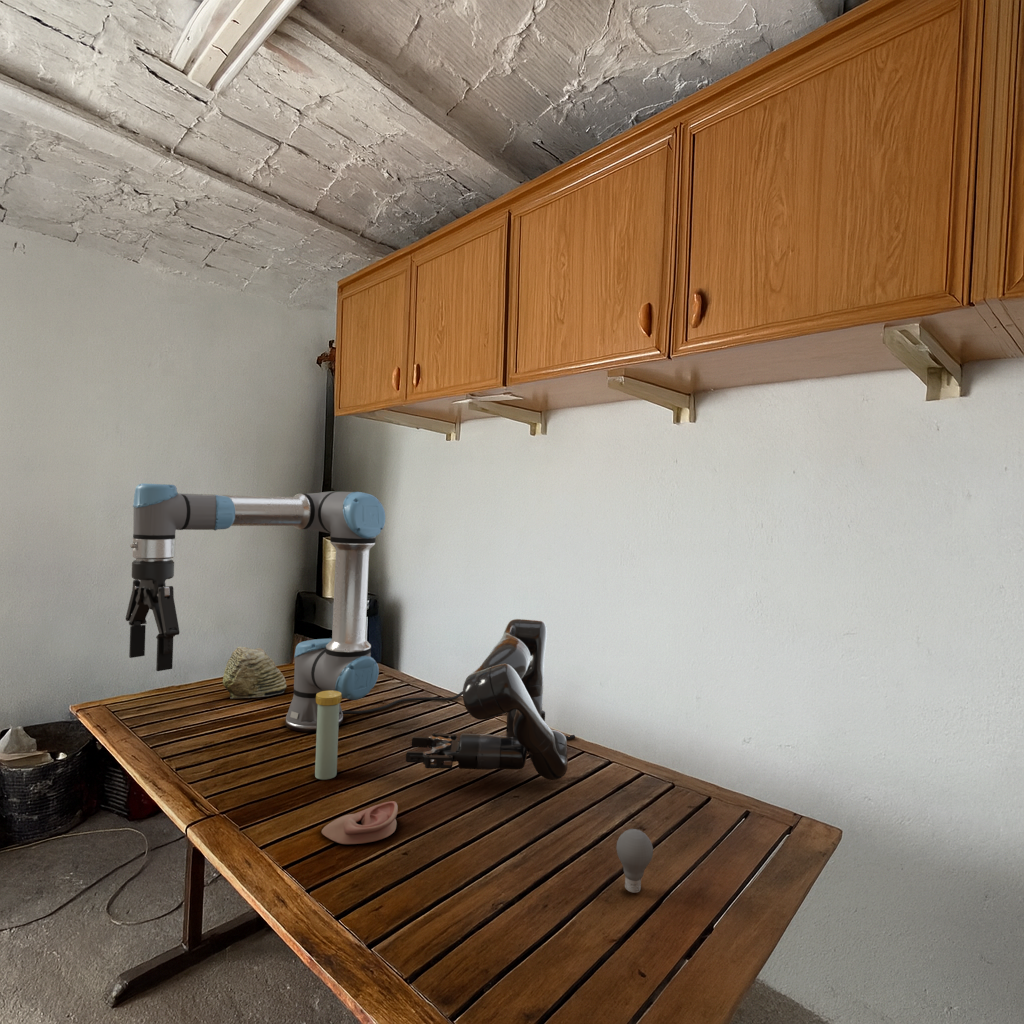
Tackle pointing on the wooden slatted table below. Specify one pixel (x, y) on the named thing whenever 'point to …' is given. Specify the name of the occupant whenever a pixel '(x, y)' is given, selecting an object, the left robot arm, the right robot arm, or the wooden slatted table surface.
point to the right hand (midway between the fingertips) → (409, 749)
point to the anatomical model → (364, 825)
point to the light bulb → (634, 857)
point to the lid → (328, 698)
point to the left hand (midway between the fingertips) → (150, 663)
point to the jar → (327, 741)
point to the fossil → (252, 674)
